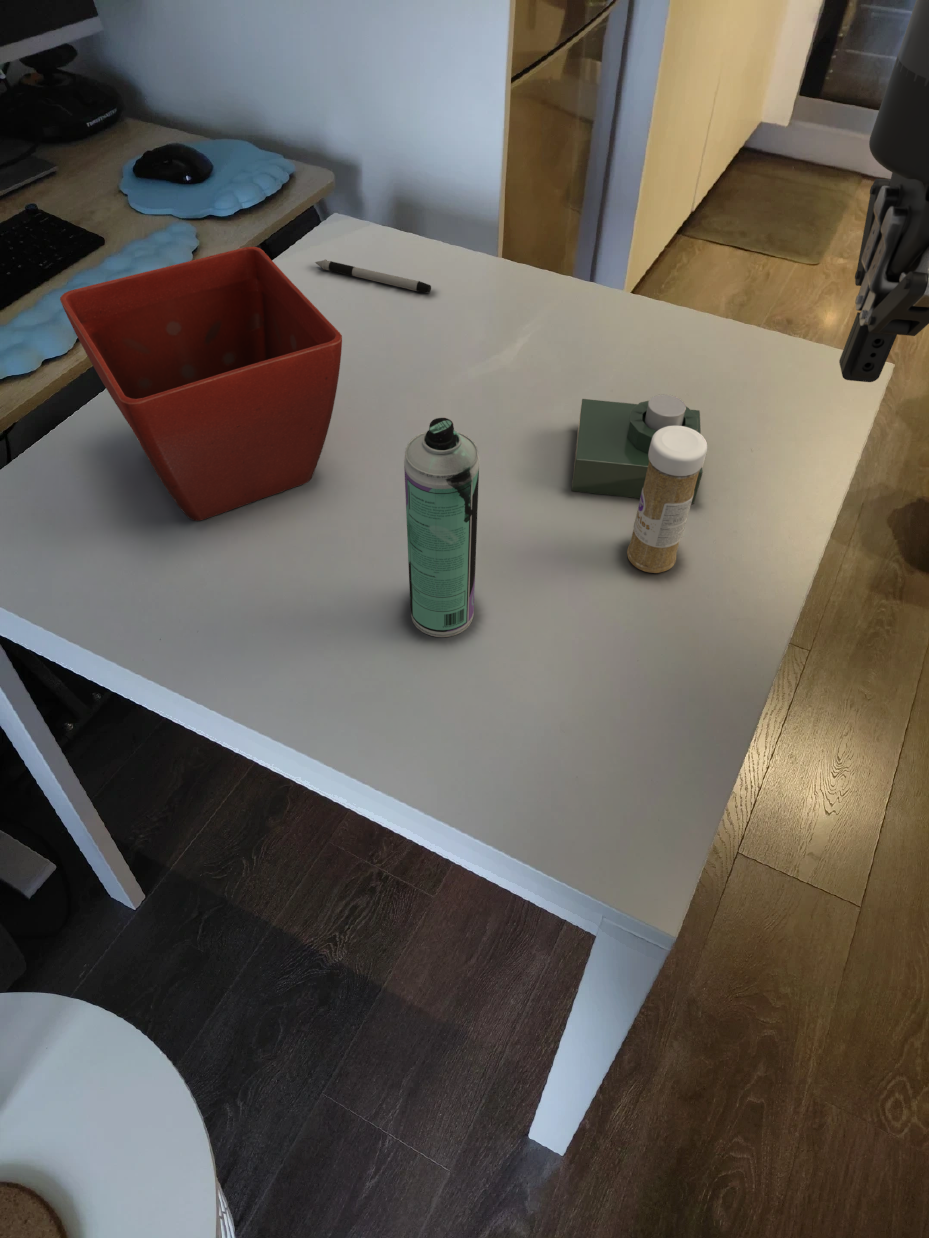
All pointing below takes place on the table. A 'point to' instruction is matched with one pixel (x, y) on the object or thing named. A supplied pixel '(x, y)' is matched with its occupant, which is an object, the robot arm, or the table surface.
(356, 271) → the pen
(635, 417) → the push button box
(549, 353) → the table surface
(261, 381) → the flower pot
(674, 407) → the grey short cylinder
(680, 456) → the sprinkles bottle
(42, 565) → the table surface
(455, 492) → the spray can
